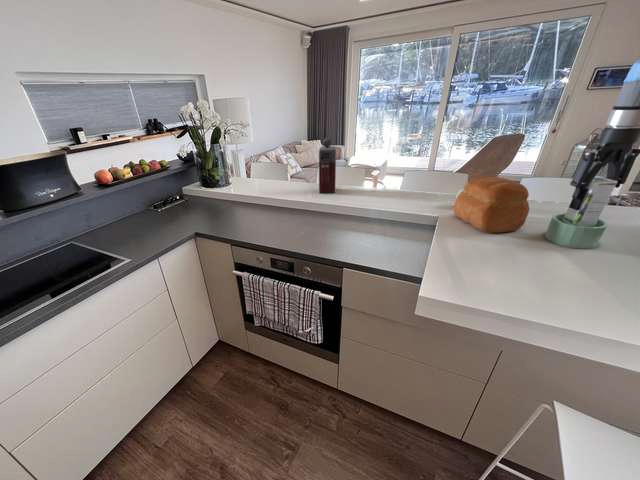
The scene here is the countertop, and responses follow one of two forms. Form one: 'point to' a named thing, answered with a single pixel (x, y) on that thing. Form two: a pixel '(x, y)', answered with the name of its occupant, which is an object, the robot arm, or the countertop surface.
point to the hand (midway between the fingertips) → (585, 207)
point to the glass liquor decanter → (327, 167)
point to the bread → (493, 204)
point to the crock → (574, 233)
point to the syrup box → (591, 203)
